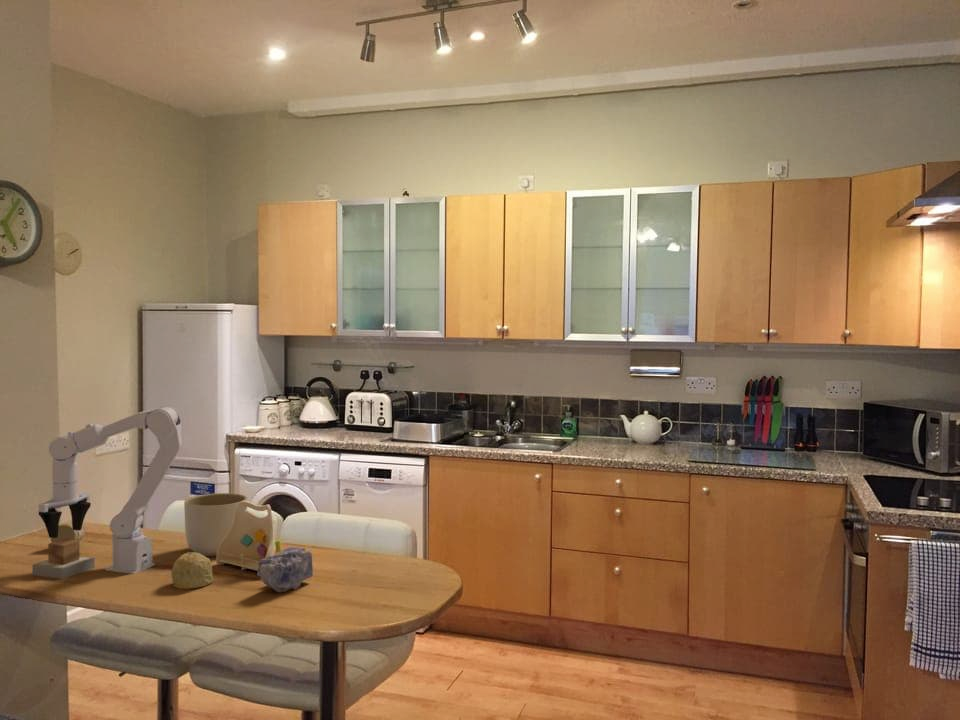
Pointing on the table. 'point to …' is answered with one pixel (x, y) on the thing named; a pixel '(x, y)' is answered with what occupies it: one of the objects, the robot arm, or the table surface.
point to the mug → (68, 533)
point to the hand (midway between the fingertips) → (65, 533)
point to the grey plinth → (63, 568)
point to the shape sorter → (248, 538)
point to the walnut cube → (63, 551)
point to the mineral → (286, 569)
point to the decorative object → (192, 571)
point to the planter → (209, 520)
